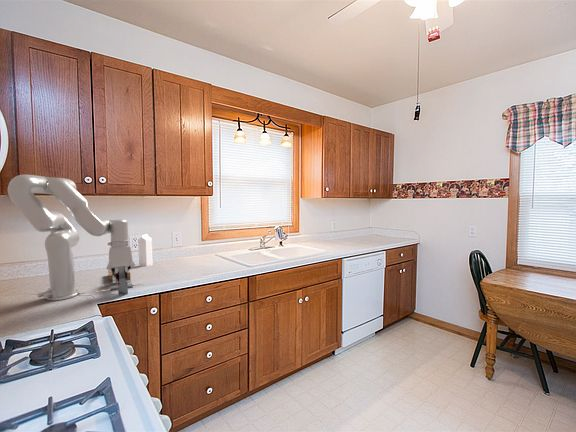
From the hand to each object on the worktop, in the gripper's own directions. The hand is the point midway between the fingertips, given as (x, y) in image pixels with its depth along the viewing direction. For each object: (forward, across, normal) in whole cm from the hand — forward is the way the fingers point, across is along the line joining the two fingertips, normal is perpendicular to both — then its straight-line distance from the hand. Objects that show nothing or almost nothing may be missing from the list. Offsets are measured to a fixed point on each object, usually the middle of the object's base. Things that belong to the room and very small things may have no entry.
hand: (121, 279), depth 145 cm
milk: (+6, +17, +49) cm, 52 cm away
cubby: (+6, 0, +18) cm, 19 cm away
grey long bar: (+4, 0, +4) cm, 6 cm away
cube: (+4, 0, +12) cm, 13 cm away
